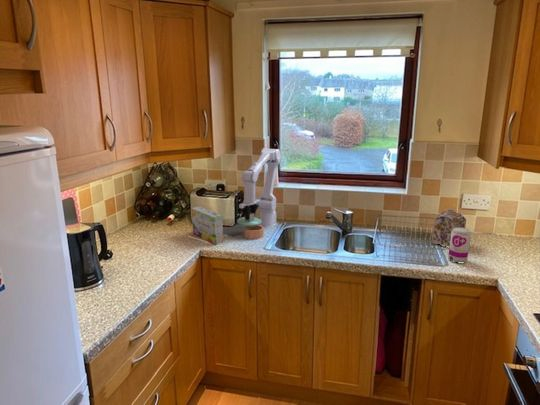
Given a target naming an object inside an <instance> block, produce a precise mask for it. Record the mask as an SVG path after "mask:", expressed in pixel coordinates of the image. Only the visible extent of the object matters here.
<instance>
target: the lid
mask: <svg viewBox="0 0 540 405" xmlns="http://www.w3.org/2000/svg"><path fill="white" fill-rule="evenodd" d="M236 222H237V225H239V226H243V227H245V226H256V225H260V224H261V223H262V220H261V219H260V217H256V216H255V217H254V213H251V212H250V218H249V220H246V219H245V216H243V217H239V218H238V219H237V220H236Z"/></svg>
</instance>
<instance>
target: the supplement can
mask: <svg viewBox="0 0 540 405" xmlns="http://www.w3.org/2000/svg"><path fill="white" fill-rule="evenodd" d="M471 238H472V233H471V230H470V229H469V228H466V227H465V228H454V229H453V230H452V232H451V239H450V246H449V248H448V254H447V255H448V256H447V259H448V261H450V260H451V261H454V262H465V263H466V261H467V262H468V258H469V251H470V246H471ZM451 261H450V262H451ZM454 262H453V263H454Z"/></svg>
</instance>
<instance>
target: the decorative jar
mask: <svg viewBox="0 0 540 405" xmlns="http://www.w3.org/2000/svg"><path fill="white" fill-rule="evenodd" d="M466 223H467V219H466V218H465V217H464V215H463V214H462V213H458V212H457V210H456V209H446V211H441V212H438V214H437V215H436V216H435V217H434V221H433V228H432V235H431V236H432V237H431V243H432V245H433V244H434V245H436V244H440V245H445V246H450V239H451V232H452V230H453V229H454V228H466V225H467V224H466ZM440 245H439V246H440Z"/></svg>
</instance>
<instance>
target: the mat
mask: <svg viewBox="0 0 540 405" xmlns="http://www.w3.org/2000/svg"><path fill="white" fill-rule="evenodd" d="M244 228H245V226H244V225H240V224H236V225H235V226H233V227H226V226H224V227H223V235H227V236H230V237H233V238H235V237H237V236H240V235H244Z"/></svg>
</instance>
